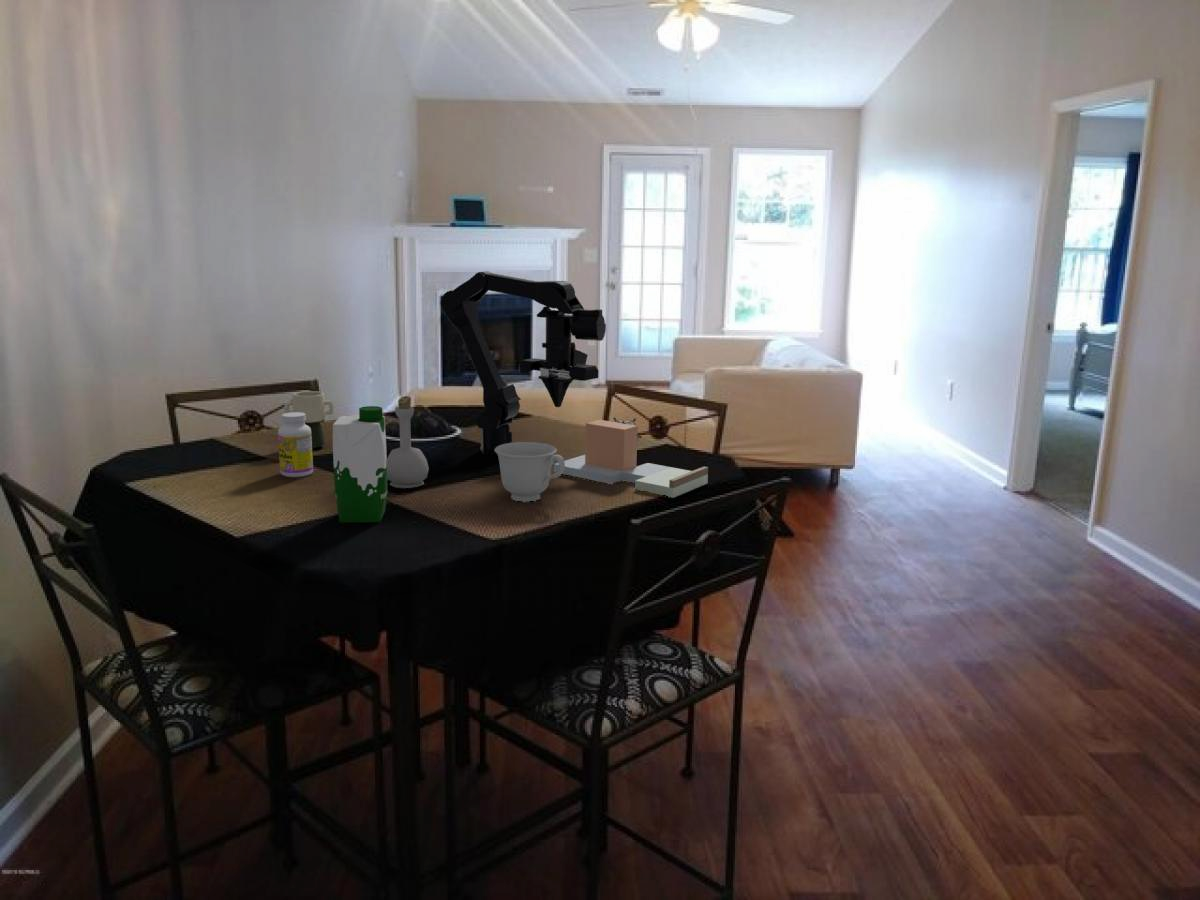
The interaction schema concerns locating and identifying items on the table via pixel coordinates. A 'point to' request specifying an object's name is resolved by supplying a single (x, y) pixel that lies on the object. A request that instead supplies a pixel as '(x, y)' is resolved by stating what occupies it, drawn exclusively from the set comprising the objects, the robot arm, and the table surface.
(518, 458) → the teacup
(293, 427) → the supplement bottle
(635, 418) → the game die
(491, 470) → the table surface
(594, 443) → the block
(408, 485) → the potion bottle
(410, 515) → the table surface
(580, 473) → the trap board
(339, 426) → the milk carton
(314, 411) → the character mug
